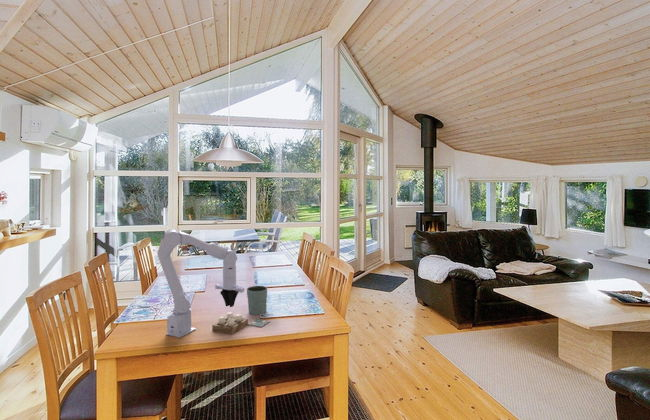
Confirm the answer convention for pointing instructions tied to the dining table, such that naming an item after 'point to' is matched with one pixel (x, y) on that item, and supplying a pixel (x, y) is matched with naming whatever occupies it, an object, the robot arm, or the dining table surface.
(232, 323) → the button near right
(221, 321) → the button near left
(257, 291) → the grey cup
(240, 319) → the button far right
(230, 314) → the button far left
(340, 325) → the dining table surface
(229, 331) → the board
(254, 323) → the card
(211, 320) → the dining table surface
